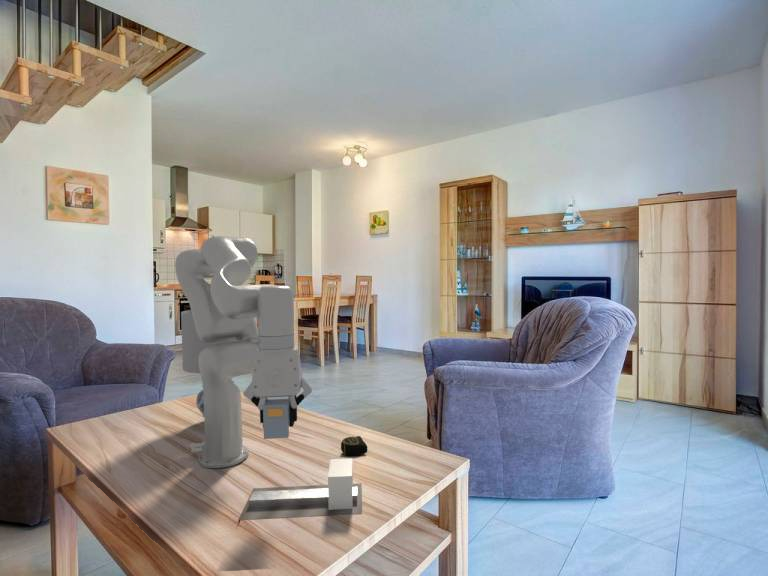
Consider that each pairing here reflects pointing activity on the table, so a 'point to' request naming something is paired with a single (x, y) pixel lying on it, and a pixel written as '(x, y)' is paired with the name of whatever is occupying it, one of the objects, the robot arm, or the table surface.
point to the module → (276, 417)
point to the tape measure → (353, 446)
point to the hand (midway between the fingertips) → (279, 424)
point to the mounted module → (340, 484)
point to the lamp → (193, 350)
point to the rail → (292, 497)
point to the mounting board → (298, 506)
